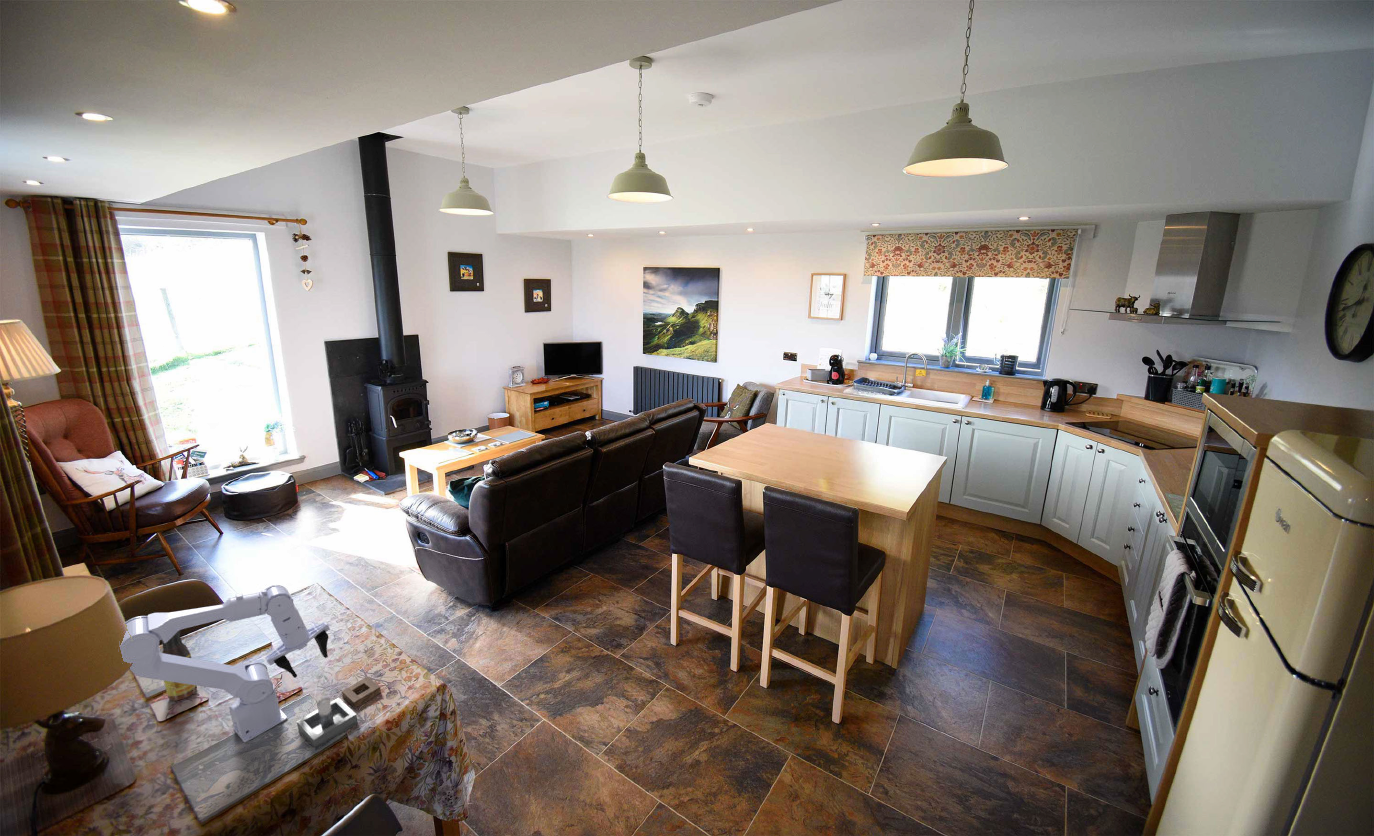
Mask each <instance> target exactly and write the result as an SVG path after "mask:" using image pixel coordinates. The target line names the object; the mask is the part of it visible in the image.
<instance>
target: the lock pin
mask: <svg viewBox="0 0 1374 836" xmlns="http://www.w3.org/2000/svg"><path fill="white" fill-rule="evenodd" d="M330 702H331V699H330V698H329V697H324V698H321V699H320V700H318V701H317V702H316V706H317V707H316V708H317V709H318V713H319V718H320V723H321V727H322V728H324V729H325V728H329V727H330V726H332V725H333V724H334V719H333V714H332V708H331V703H330Z"/></svg>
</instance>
